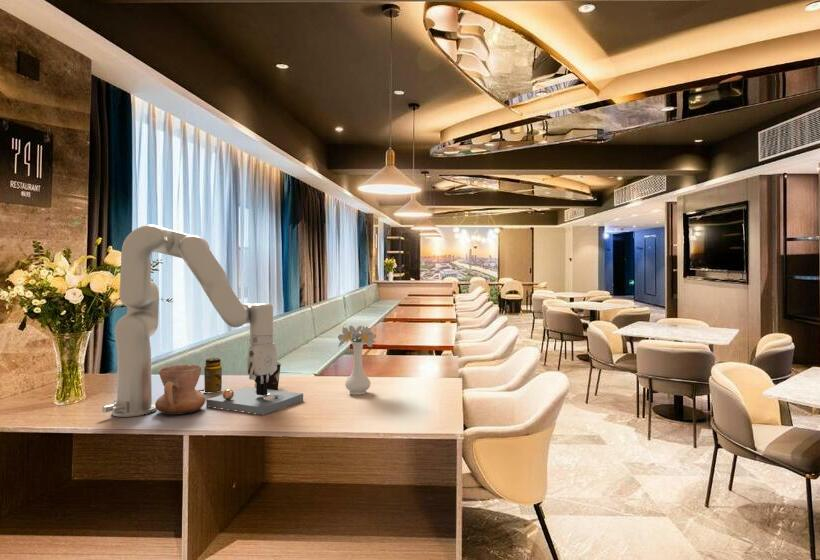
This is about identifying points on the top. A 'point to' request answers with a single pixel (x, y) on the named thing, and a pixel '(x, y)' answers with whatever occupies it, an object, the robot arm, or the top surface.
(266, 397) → the steel ball
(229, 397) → the copper ball
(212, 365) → the condiment
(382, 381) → the top surface
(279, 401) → the grey flat board
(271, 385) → the coffee mug
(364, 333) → the flower vase
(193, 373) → the ceramic jug
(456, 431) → the top surface
